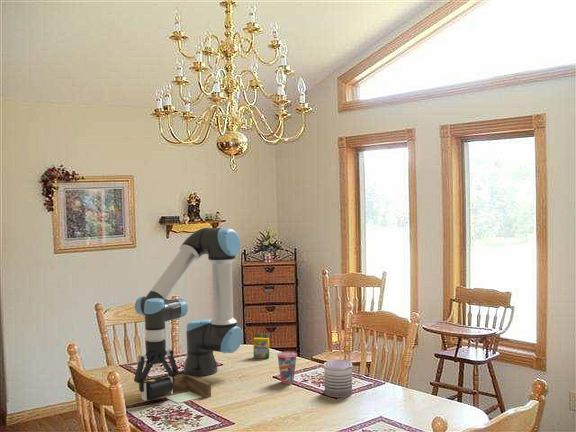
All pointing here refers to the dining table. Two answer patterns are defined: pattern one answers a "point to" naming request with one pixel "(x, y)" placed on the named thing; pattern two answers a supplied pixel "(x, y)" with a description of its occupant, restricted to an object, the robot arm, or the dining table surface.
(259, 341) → the crayon box
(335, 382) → the can
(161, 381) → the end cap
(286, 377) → the cup
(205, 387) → the brown l-shaped piece
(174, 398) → the pad
